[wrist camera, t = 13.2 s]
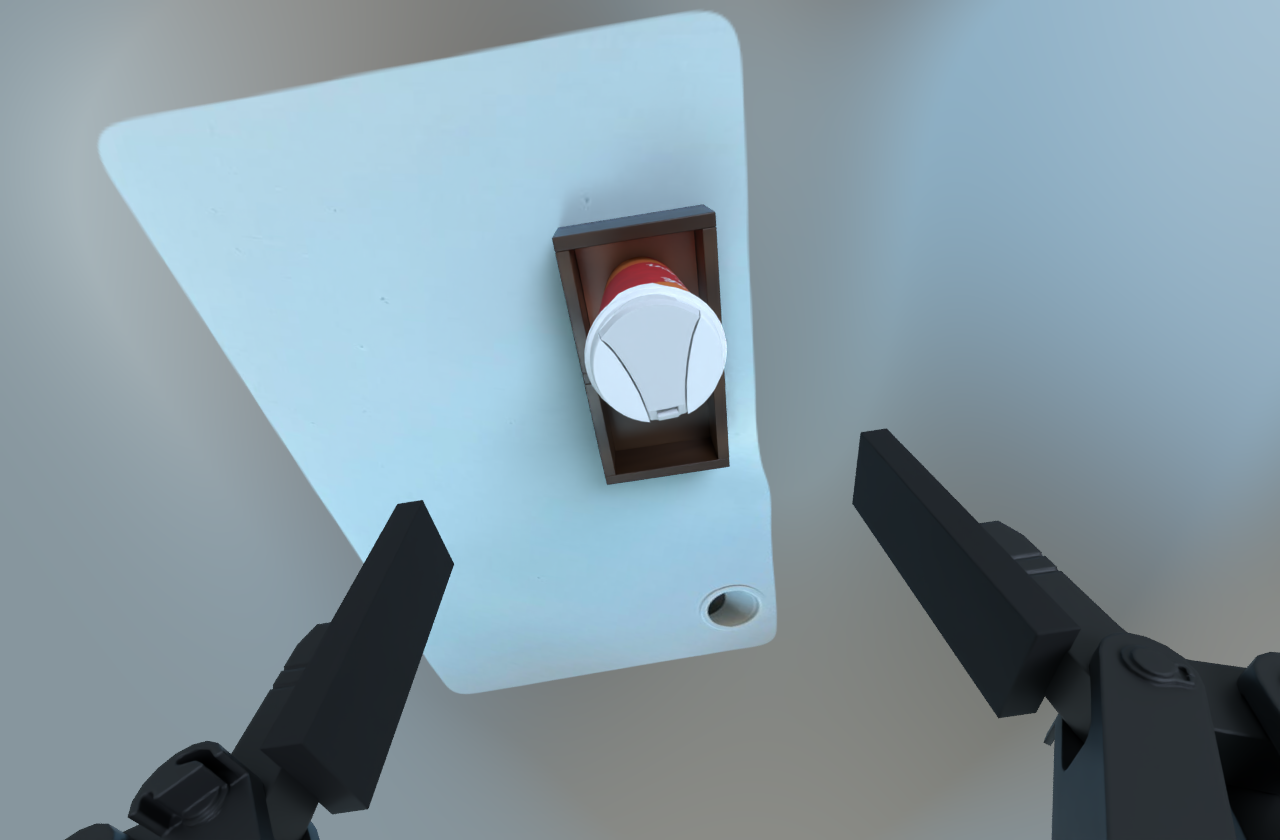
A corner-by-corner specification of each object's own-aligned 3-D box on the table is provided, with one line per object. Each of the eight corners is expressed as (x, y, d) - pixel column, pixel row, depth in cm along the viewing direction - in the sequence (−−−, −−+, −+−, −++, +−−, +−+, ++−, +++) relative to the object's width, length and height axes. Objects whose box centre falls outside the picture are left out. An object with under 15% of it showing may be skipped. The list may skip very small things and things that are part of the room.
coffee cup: (698, 329, 41) (739, 414, 28) (605, 349, 42) (604, 443, 29) (682, 227, 37) (722, 273, 24) (579, 252, 37) (563, 309, 24)
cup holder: (557, 227, 37) (551, 237, 33) (703, 204, 37) (715, 211, 33) (607, 457, 48) (606, 485, 44) (719, 440, 48) (729, 466, 44)
